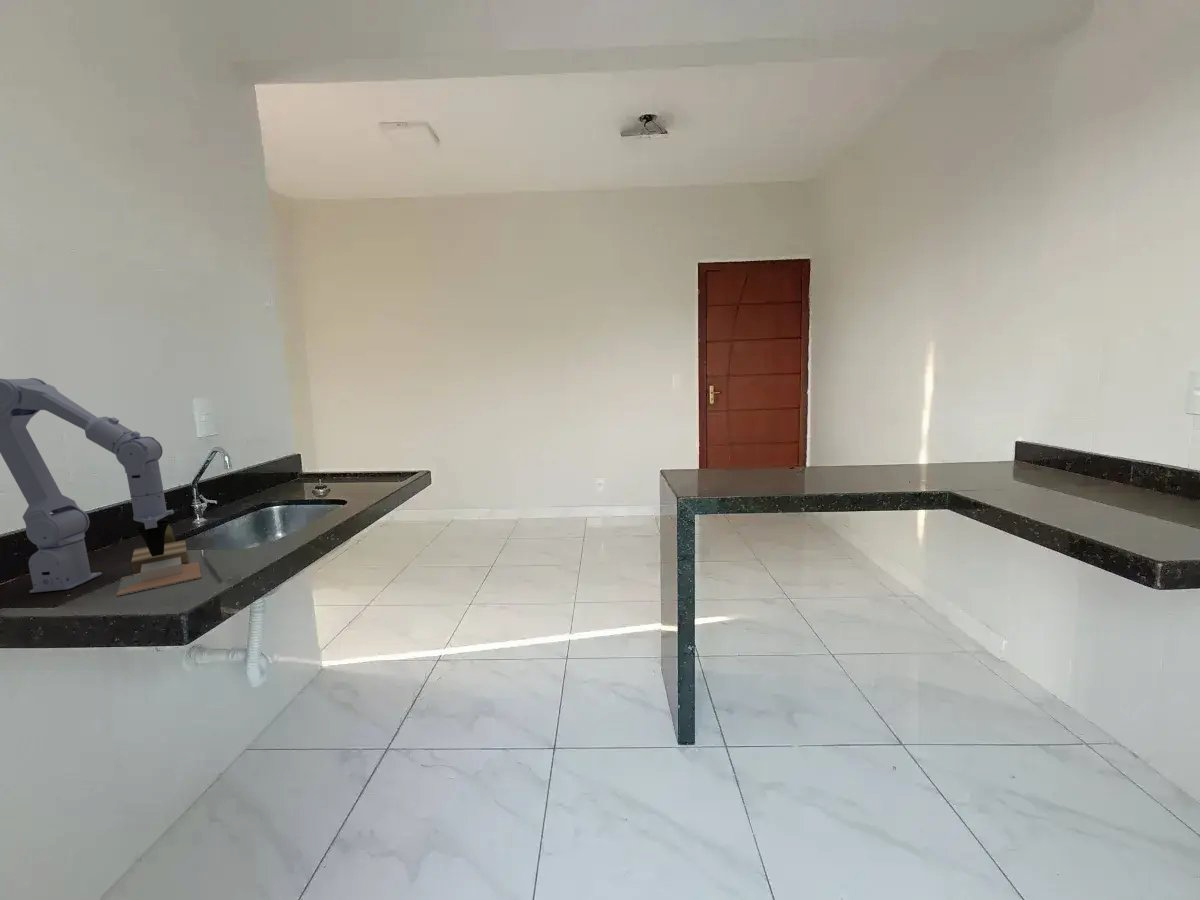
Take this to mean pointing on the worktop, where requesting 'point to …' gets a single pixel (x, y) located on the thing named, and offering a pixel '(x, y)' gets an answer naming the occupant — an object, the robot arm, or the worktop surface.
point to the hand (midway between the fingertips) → (157, 554)
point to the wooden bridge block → (170, 552)
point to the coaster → (161, 569)
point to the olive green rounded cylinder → (169, 535)
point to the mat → (165, 579)
